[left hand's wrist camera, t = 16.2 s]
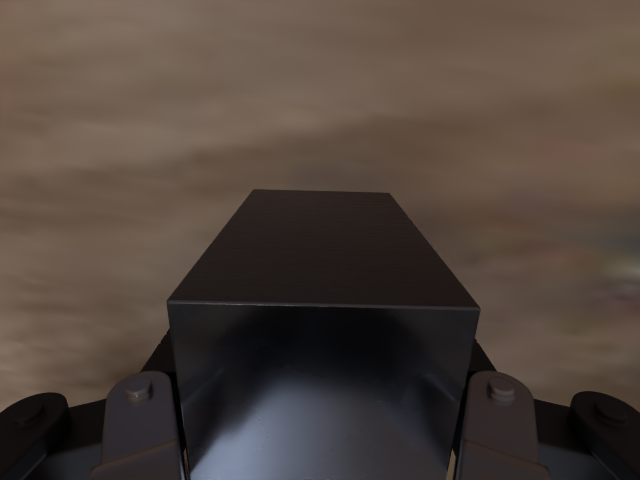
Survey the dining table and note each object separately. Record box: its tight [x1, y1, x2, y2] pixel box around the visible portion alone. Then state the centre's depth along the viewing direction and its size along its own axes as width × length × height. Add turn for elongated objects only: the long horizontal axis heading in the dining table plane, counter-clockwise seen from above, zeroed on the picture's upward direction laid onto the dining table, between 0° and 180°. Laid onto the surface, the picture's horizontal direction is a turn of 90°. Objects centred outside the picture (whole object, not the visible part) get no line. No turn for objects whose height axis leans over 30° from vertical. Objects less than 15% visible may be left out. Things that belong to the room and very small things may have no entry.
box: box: [167, 189, 480, 480], centre depth 15 cm, size 22×6×10 cm, turn 178°
